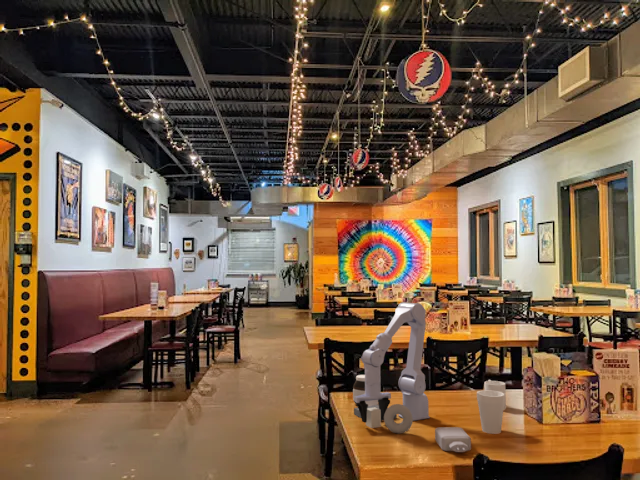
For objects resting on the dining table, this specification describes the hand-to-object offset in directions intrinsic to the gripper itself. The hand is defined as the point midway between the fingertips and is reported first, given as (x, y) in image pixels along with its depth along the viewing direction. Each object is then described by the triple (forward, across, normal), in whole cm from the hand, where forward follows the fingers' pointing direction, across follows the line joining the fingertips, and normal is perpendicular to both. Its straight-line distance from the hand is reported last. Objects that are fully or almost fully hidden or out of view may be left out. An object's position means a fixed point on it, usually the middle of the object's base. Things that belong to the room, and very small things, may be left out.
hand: (373, 420), depth 183 cm
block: (+2, 0, 0) cm, 2 cm away
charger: (+2, -10, +32) cm, 34 cm away
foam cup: (+2, -34, +24) cm, 42 cm away
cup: (+2, -59, 0) cm, 59 cm away
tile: (+2, -7, -10) cm, 12 cm away
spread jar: (+2, -13, -26) cm, 29 cm away
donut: (+2, -3, +11) cm, 12 cm away
